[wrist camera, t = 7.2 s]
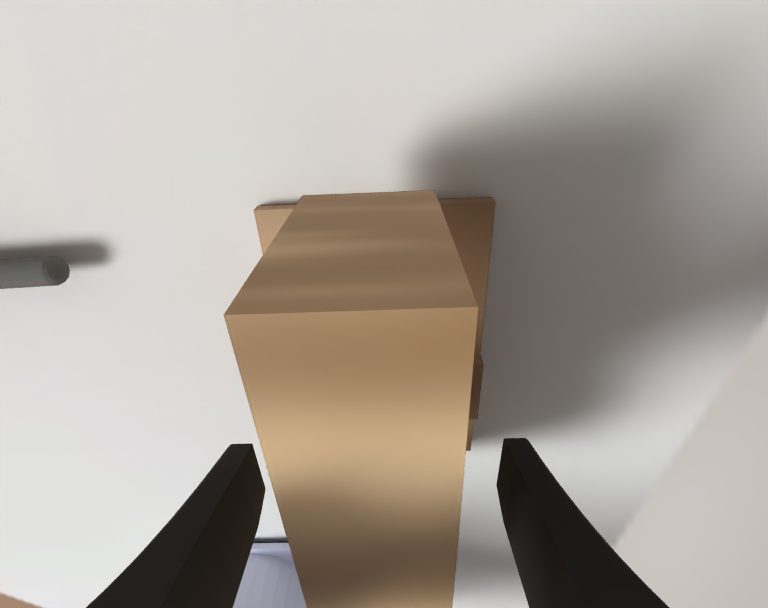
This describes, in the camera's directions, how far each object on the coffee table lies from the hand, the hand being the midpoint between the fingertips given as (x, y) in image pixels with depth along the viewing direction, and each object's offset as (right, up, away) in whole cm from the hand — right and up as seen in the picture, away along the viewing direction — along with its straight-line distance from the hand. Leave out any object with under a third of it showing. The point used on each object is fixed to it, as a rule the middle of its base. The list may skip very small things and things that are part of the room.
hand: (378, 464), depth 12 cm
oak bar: (0, +2, +2) cm, 3 cm away
